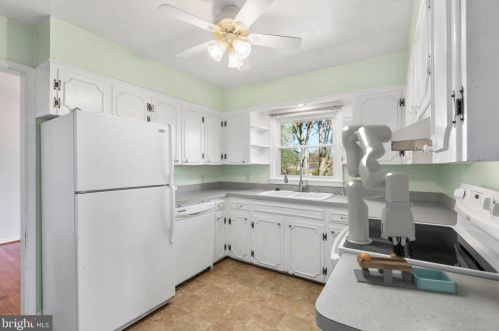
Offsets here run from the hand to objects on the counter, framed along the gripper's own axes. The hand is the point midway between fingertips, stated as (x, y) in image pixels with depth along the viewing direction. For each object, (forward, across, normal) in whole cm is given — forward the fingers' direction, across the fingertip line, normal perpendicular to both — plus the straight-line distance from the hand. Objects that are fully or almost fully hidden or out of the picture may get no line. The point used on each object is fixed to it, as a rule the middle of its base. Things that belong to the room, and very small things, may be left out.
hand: (398, 255), depth 86 cm
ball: (-1, +12, +8) cm, 15 cm away
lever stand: (+6, +7, +8) cm, 12 cm away
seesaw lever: (+2, +7, +5) cm, 9 cm away
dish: (+6, -7, +8) cm, 12 cm away
